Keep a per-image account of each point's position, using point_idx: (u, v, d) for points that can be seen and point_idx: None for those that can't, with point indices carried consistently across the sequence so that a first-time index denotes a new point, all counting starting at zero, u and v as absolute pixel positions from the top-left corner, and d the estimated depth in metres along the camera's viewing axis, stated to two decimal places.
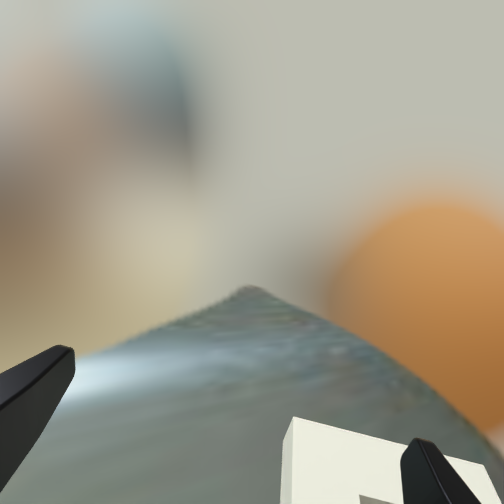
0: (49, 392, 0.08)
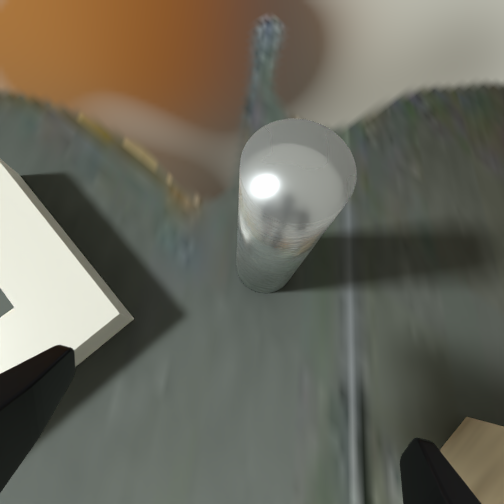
0: (49, 392, 0.08)
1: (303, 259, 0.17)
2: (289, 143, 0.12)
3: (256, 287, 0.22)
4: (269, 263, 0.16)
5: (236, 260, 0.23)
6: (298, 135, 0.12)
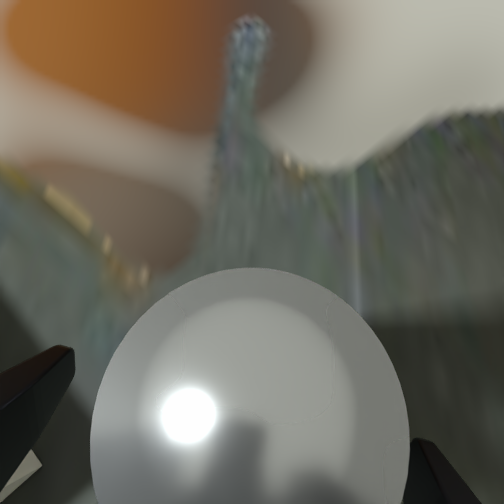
0: (49, 392, 0.08)
1: None
2: (232, 342, 0.05)
3: None
4: None
5: None
6: (255, 318, 0.05)
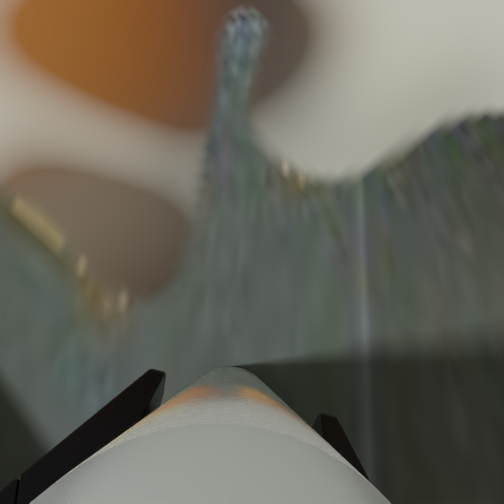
0: None
1: None
2: None
3: None
4: None
5: None
6: None
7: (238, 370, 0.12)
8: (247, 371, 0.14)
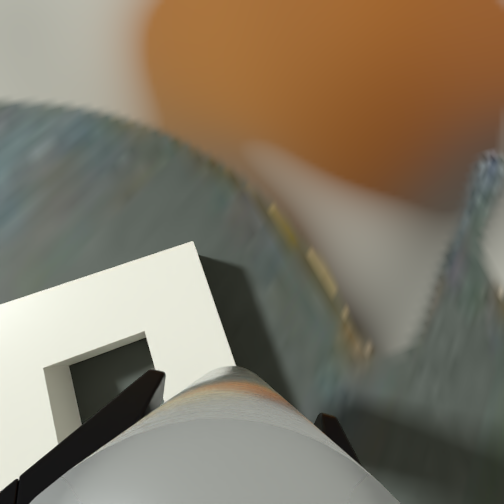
0: None
1: None
2: None
3: None
4: None
5: None
6: None
7: (239, 369, 0.12)
8: (248, 370, 0.14)
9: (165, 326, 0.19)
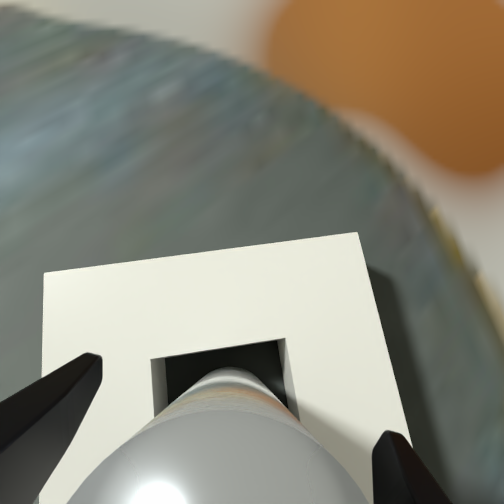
0: (80, 400, 0.08)
1: None
2: None
3: None
4: None
5: None
6: (222, 478, 0.04)
7: (238, 370, 0.14)
8: (246, 370, 0.15)
9: (313, 337, 0.14)
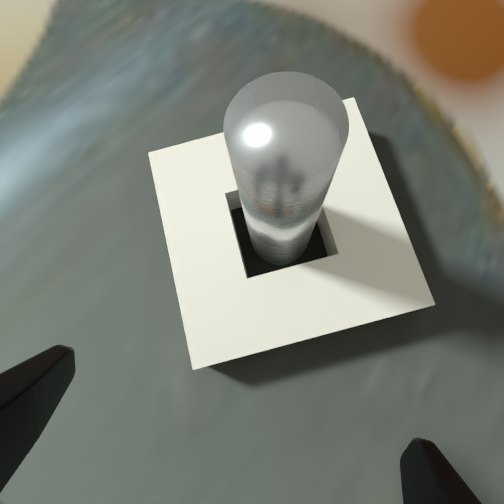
0: (49, 392, 0.08)
1: (312, 223, 0.16)
2: (273, 99, 0.11)
3: (273, 259, 0.22)
4: (277, 232, 0.16)
5: None
6: (281, 90, 0.11)
7: None
8: None
9: None
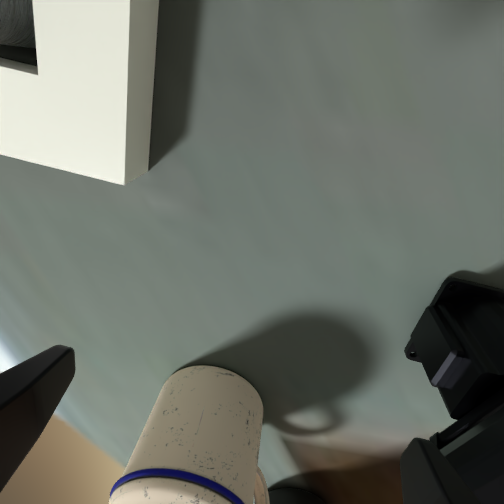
0: (49, 392, 0.08)
1: None
2: None
3: None
4: None
5: None
6: None
7: None
8: None
9: None
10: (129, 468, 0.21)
